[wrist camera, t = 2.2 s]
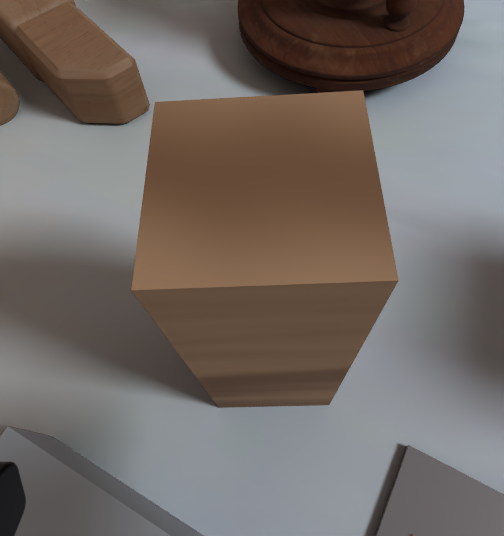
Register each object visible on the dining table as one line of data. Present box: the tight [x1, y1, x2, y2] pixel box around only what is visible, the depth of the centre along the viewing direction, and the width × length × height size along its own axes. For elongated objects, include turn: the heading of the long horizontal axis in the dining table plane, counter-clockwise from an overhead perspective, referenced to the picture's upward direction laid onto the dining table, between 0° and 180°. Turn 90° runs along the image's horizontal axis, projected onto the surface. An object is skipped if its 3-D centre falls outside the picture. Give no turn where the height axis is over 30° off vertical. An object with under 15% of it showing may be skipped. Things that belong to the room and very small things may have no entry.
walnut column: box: [131, 90, 398, 408], centre depth 15 cm, size 5×5×13 cm
